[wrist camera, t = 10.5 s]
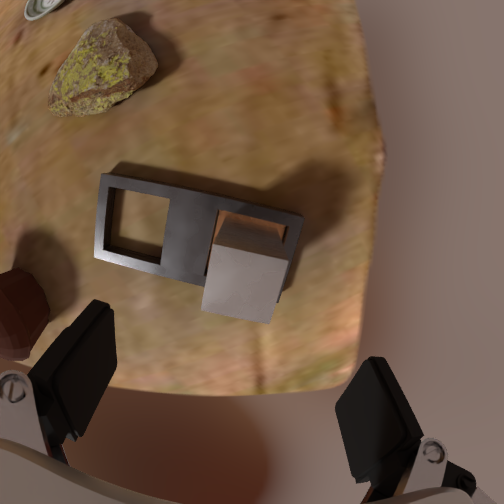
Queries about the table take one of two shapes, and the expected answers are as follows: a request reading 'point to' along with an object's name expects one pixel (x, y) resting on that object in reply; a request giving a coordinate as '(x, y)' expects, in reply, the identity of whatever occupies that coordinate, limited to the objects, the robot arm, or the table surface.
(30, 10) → the saucer
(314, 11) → the table surface
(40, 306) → the muffin
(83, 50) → the rock
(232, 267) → the silver rectangular block
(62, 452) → the robot arm
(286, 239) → the dark grey slotted tray
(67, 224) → the table surface
